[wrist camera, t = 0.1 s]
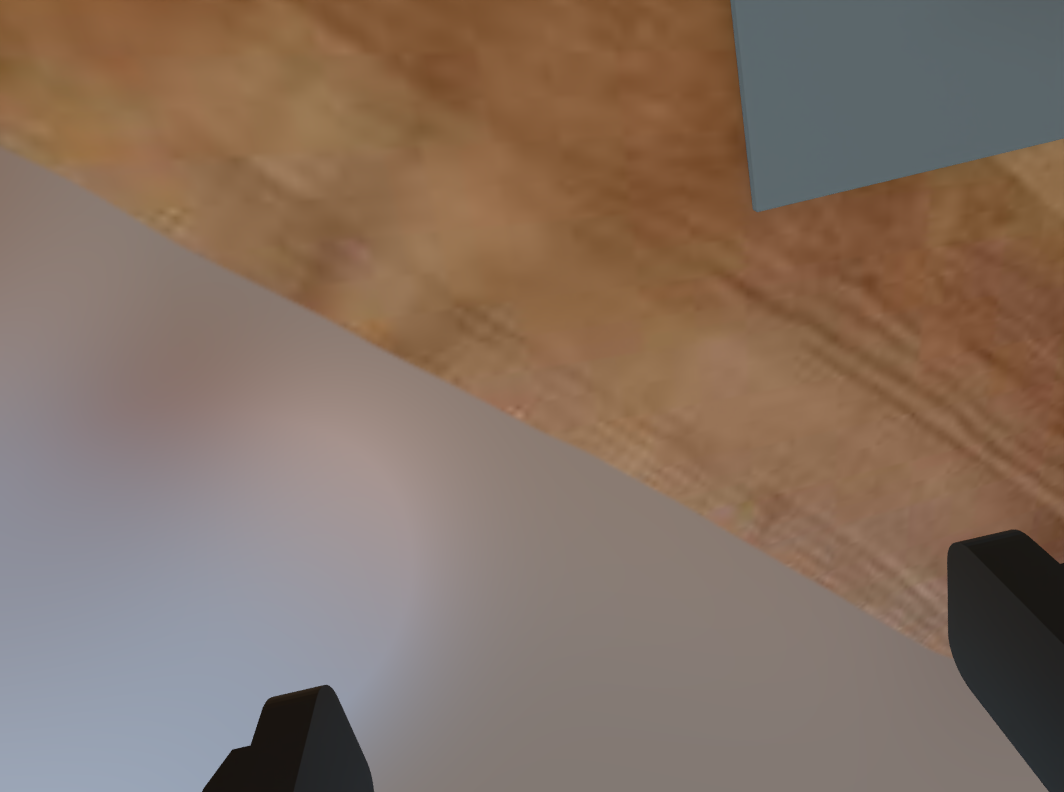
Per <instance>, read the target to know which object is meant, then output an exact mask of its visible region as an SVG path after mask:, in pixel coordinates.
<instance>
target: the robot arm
mask: <svg viewBox="0 0 1064 792" xmlns="http://www.w3.org/2000/svg"><path fill="white" fill-rule="evenodd" d="M947 570H948V637H949V644H950V648H951V652H952V655H953V658H954V661H955V663H956V666H957V668H958V670H959V672H960V674H961V676H962V678H963V679H964V681H965V682H966V684H967V686H968V687H969V689H970V690H971V691H972V693H973V694H974V695H975V696H976V698H977V699H978V700H979V702H980V703H981V704H982V706H983V707H984V708H985V709H986V710H987V712H988V713H989V714H990V716H991V717H992V718H993V720H994V721H995V722H996V724H997V725H998V726H999V728H1000V729H1001V730H1002V731H1003V733H1004V734H1005V735H1006V737H1007V738H1008V739H1009V741H1010V742H1011V743H1012V744H1013V746H1014V747H1015V748H1016V750H1017V751H1018V752H1019V753H1020V755H1021V756H1022V757H1023V758H1024V760H1025V761H1026V762H1027V764H1028V765H1029V766H1030V768H1031V769H1032V770H1033V772H1034V773H1035V774H1036V775H1037V776H1038V778H1039V779H1040V781H1041V782H1042V783H1043V785H1044V786H1045V787H1046V788H1047V790H1048V791H1049V792H1064V563H1062V564H1059V563H1058V562H1057V561H1056V560H1055V559H1054V558H1053V557H1051V556H1050V555H1049V554H1048V553H1047V552H1046V551H1045V550H1044V549H1042V548H1041V547H1040V546H1039V545H1038V544H1037V543H1036V542H1034V541H1033V540H1032V539H1031V538H1030V537H1029V536H1027V535H1026V534H1025V533H1023V532H1021V531H1019V530H1008V531H1004V532H999V533H995V534H991V535H986V536H982V537H978V538H973V539H969V540H964V541H960V542H956V543H953V544H952V545H951V546H950V548H949V550H948V557H947ZM202 792H374V789H373V782H372V777H371V772H370V769H369V766H368V763H367V761H366V759H365V757H364V754H363V752H362V750H361V748H360V746H359V743H358V741H357V739H356V737H355V735H354V732H353V730H352V728H351V726H350V723H349V721H348V719H347V717H346V715H345V713H344V710H343V708H342V706H341V704H340V702H339V699H338V697H337V695H336V694H335V692H334V690H333V689H332V688H331V687H330V686H328V685H323V686H318V687H314V688H310V689H306V690H301V691H297V692H292V693H288V694H283V695H279V696H275V697H271V698H269V699H268V700H267V701H266V703H265V705H264V707H263V709H262V712H261V715H260V718H259V721H258V724H257V727H256V731H255V734H254V736H253V740H252V743H251V746H247V747H242V748H238V749H234V750H232V751H231V752H230V754H229V755H228V756H227V758H226V759H225V760H224V762H223V763H222V764H221V766H220V767H219V768H218V770H217V771H216V773H215V774H214V775H213V777H212V778H211V779H210V781H209V782H208V783H207V785H206V786H205V787H204V789H203V791H202Z"/></svg>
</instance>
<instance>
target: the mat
mask: <svg viewBox="0 0 1064 792" xmlns="http://www.w3.org/2000/svg"><path fill="white" fill-rule="evenodd" d="M731 9H732V19H733V28H734V37H735V47H736V56H737V65H738V75H739V84H740V93H741V102H742V112H743V121H744V130H745V140H746V149H747V158H748V167H749V177H750V186H751V195H752V205H753V210H754V211H756V212H759V211H764V210H768V209H772V208H776V207H780V206H784V205H789V204H793V203H797V202H801V201H805V200H809V199H814V198H818V197H822V196H826V195H830V194H834V193H839V192H843V191H847V190H851V189H855V188H859V187H864V186H868V185H872V184H876V183H880V182H884V181H889V180H893V179H897V178H901V177H905V176H909V175H913V174H918V173H922V172H926V171H930V170H934V169H938V168H943V167H947V166H951V165H955V164H959V163H963V162H968V161H972V160H976V159H980V158H984V157H988V156H993V155H997V154H1001V153H1005V152H1009V151H1013V150H1018V149H1022V148H1026V147H1030V146H1034V145H1038V144H1043V143H1047V142H1051V141H1055V140H1059V139H1063V138H1064V0H731Z"/></svg>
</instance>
